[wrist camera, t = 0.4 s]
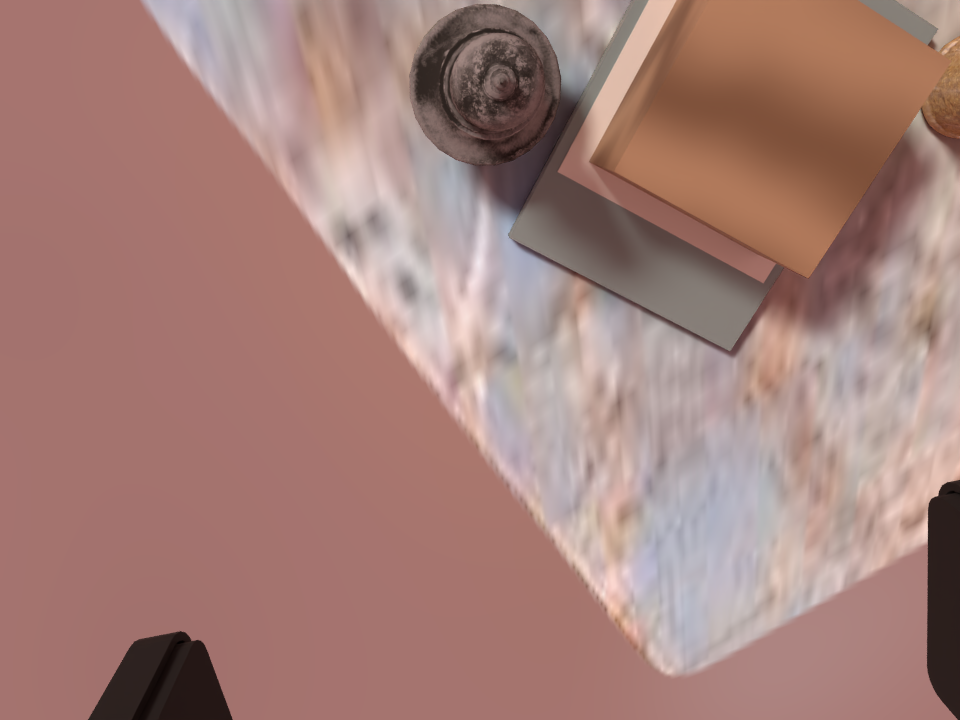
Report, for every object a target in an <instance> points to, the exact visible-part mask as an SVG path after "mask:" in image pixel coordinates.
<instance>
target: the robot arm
mask: <svg viewBox="0 0 960 720" xmlns="http://www.w3.org/2000/svg"><path fill="white" fill-rule="evenodd" d="M927 620H928V621H927V624H928V626H927V627H928V628H927V631H928V632H927V668H928V674H929V678H930V681H931V683H932V686H933V688H934V690H935V692H936V693H937V695H938V696H939V698H940V699H941V700H942V702H943V703H944V704H945V705H946V706H947V707H948V709H949V710H950V711H951V712H952V713H953V714H954V716H955V717H956V718H957V719H958V720H960V480H958V481H952V482H947V483H946V484H944V485H942V487H941V489H940V491H939V495H938V496H937V497H934V498H932V499H931V501H930V503H929V507H928V619H927ZM88 720H232V717H231V714H230V711H229V708H228V706H227V703H226V700H225V698H224V695H223V692H222V690H221V687H220V684H219V681H218V679H217V676H216V673H215V671H214V668H213V665H212V663H211V660H210V657H209V654H208V652H207V650H206V647H205V645H204V644H203V643H202V642H201V641H199V640H196V641H191V639H190V637H189V636H188V635H187V634H186V633H185V632H181V631H180V632H175V633H170V634H165V635H159V636H154V637H149V638H144V639H139V640H137V641H135V642H134V643H133V644H132V645H131V647H130V648H129V650H128V651H127V653H126V655H125V657H124V658H123V660H122V662H121V664H120V665H119V667H118V669H117V671H116V673H115V674H114V676H113V677H112V679H111V681H110V683H109V684H108V686H107V688H106V690H105V692H104V693H103V695H102V697H101V698H100V700H99V702H98V704H97V705H96V707H95V709H94V711H93V713H92V714H91V716H90V718H89V719H88Z"/></svg>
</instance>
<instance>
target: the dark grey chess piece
mask: <svg viewBox="0 0 960 720" xmlns="http://www.w3.org/2000/svg"><path fill="white" fill-rule="evenodd" d="M560 90H561V75H560V70H559V66H558V61H557V57H556V54H555V52H554V50H553V48H552V46H551V44H550V42H549V40H548V38H547V37H546V36H545V35H544V33H543V32H542V31H541V30H540V29H539V28H538V27H537V25H536V24H535V23H534V22H533V21H531V20H530V19H528V18H527V17H525V16H524V15H522V14H521V13H519V12H518V11H516V10H512V9H509V8H506V7H503V6H500V5H493V4H475V5H472V6H468V7H464V8H461V9H457V10H455V11H453V12H452V13H450V14H449V15H447V16H445V17H444V18H442V19H441V20H439V21H438V22H437V23H436V24H435V25H434V26H433V27H432V28H431V29H430V31H429V32H428V33H427V34H426V35H425V36H424V38H423V40H422V42H421V43H420V45H419V47H418V49H417V51H416V53H415V55H414V59H413V63H412V68H411V72H410V99H411V103H412V107H413V110H414V114H415V118H416V119H417V121H418V123H419V125H420V126H421V128H422V130H423V132H424V133H425V135H426V136H427V137H428V138H429V139H430V140H431V141H432V143H433V144H434V145H435V146H436V147H437V148H438V149H439V150H441V151H442V152H444V153H446V154H447V155H449V156H451V157H452V158H454V159H456V160H458V161H462V162H465V163H469V164H472V165H498V164H501V163H505V162H509V161H512V160H514V159H516V158H518V157H520V156H521V155H523V154H525V153H526V152H528V151H530V150H531V149H532V148H533V147H534V146H535V145H536V144H537V143H538V142H539V141H540V140H541V139H542V138H543V137H544V135H545V134H546V132H547V130H548V129H549V127H550V125H551V123H552V122H553V120H554V118H555V115H556V111H557V108H558V104H559V101H560Z"/></svg>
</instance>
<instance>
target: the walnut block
mask: <svg viewBox="0 0 960 720" xmlns="http://www.w3.org/2000/svg"><path fill="white" fill-rule="evenodd" d="M950 63H951V60H949V59H948V58H946V57H945V56H943V55H942V54H940V53H938V52H937V51H935V50H934V49H932V48H931V47H929V46H928V45H926V44H925V43H923V42H922V41H920V40H918V39H917V38H915V37H914V36H912V35H911V34H909V33H908V32H906V31H905V30H903V29H902V28H900V27H898V26H897V25H895V24H894V23H892V22H891V21H889V20H888V19H886V18H885V17H883V16H881V15H880V14H878V13H877V12H875V11H874V10H872V9H871V8H869V7H868V6H866V5H865V4H863V3H861V2H860V1H858V0H676V2H675V4H674V6H673V8H672V10H671V12H670V13H669V15H668V17H667V19H666V21H665V23H664V24H663V26H662V28H661V30H660V32H659V34H658V35H657V37H656V39H655V41H654V43H653V45H652V46H651V48H650V50H649V52H648V54H647V56H646V58H645V59H644V61H643V63H642V65H641V67H640V69H639V70H638V72H637V74H636V76H635V78H634V80H633V81H632V83H631V85H630V87H629V89H628V91H627V92H626V94H625V96H624V98H623V100H622V102H621V104H620V105H619V107H618V109H617V111H616V113H615V115H614V116H613V118H612V120H611V122H610V124H609V126H608V127H607V129H606V131H605V133H604V135H603V137H602V138H601V140H600V142H599V144H598V146H597V148H596V149H595V151H594V153H593V155H592V157H591V159H590V161H589V162H590V163H592V164H594V165H596V166H598V167H599V168H601V169H603V170H605V171H607V172H608V173H610V174H612V175H614V176H616V177H618V178H619V179H621V180H623V181H625V182H627V183H628V184H630V185H632V186H634V187H636V188H638V189H639V190H641V191H643V192H645V193H647V194H648V195H650V196H652V197H654V198H656V199H658V200H659V201H661V202H663V203H665V204H667V205H668V206H670V207H672V208H674V209H676V210H678V211H679V212H681V213H683V214H685V215H687V216H688V217H690V218H692V219H694V220H696V221H698V222H699V223H701V224H703V225H705V226H707V227H708V228H710V229H712V230H714V231H716V232H718V233H719V234H721V235H723V236H725V237H727V238H728V239H730V240H732V241H734V242H736V243H738V244H739V245H741V246H743V247H745V248H747V249H748V250H750V251H752V252H754V253H756V254H758V255H760V256H762V257H764V258H766V259H768V260H770V261H772V262H774V263H776V264H779V265H781V266H783V267H785V268H787V269H789V270H791V271H793V272H795V273H798V274H800V275H802V276H804V277H806V278H808V279H809V277H810V276H811V274H812V273H813V271H814V269H815V268H816V266H817V265H818V263H819V262H820V260H821V259H822V257H823V256H824V254H825V253H826V251H827V250H828V248H829V247H830V245H831V244H832V242H833V241H834V239H835V238H836V236H837V235H838V233H839V232H840V230H841V228H842V227H843V225H844V224H845V222H846V221H847V219H848V218H849V216H850V215H851V213H852V212H853V210H854V209H855V207H856V206H857V204H858V203H859V201H860V200H861V198H862V197H863V195H864V194H865V192H866V191H867V189H868V188H869V186H870V184H871V183H872V181H873V180H874V178H875V177H876V175H877V174H878V172H879V171H880V169H881V168H882V166H883V165H884V163H885V162H886V160H887V159H888V157H889V156H890V154H891V153H892V151H893V150H894V148H895V147H896V145H897V143H898V142H899V140H900V139H901V137H902V136H903V134H904V133H905V131H906V130H907V128H908V127H909V125H910V124H911V122H912V121H913V119H914V118H915V116H916V115H917V113H918V112H919V110H920V109H921V107H922V106H923V104H924V102H925V101H926V99H927V98H928V96H929V95H930V93H931V92H932V90H933V89H934V87H935V86H936V84H937V83H938V81H939V80H940V78H941V77H942V75H943V74H944V72H945V71H946V69H947V68H948V66H949V65H950Z"/></svg>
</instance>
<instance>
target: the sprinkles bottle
mask: <svg viewBox="0 0 960 720" xmlns="http://www.w3.org/2000/svg"><path fill="white" fill-rule="evenodd" d="M938 53H940V54H942V55H943V56H945V57H946V58H948V59H949V60H951V63H950V65H949V66H948V68H947V69H946V71H945V72H944V74H943V75H942V77H941V78H940V80H939V81H938V83H937V84H936V86H935V87H934V89H933V90H932V92H931V93H930V95H929V96H928V98H927V99H926V101H925V102H924V104H923V106H922V111H923V114H924V117H925V118H926V120H927V122H928V124H929V125H930V126H931V127H932V128H933V129H935V130H936V131H937V132H939V133H941V134H943V135H945V136H948V137H951V138H958V139H960V36H959V37H958V38H956V39H954V40H952V41H951V42H949V43H948V44H946V45H945V46H944V47H943V48H942V49H941V50H940V51H939V52H938Z"/></svg>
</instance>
